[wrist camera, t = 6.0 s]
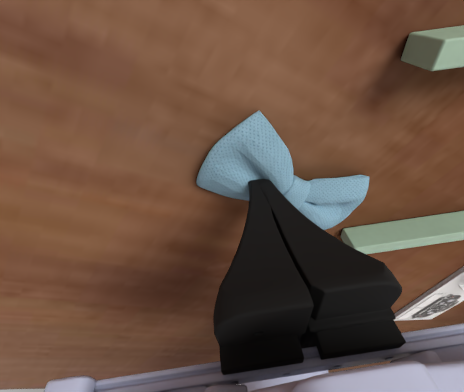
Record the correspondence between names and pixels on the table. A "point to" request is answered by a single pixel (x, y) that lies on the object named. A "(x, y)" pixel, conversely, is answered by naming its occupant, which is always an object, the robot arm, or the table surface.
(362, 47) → the table surface
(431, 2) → the table surface
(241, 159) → the bow tie
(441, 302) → the grey board with parts
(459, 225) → the bay
